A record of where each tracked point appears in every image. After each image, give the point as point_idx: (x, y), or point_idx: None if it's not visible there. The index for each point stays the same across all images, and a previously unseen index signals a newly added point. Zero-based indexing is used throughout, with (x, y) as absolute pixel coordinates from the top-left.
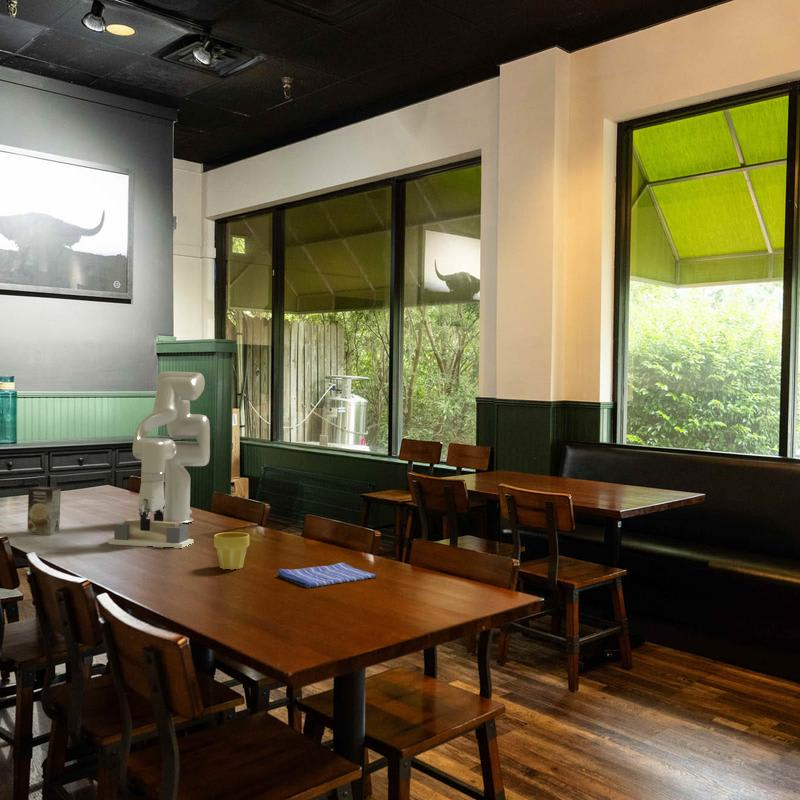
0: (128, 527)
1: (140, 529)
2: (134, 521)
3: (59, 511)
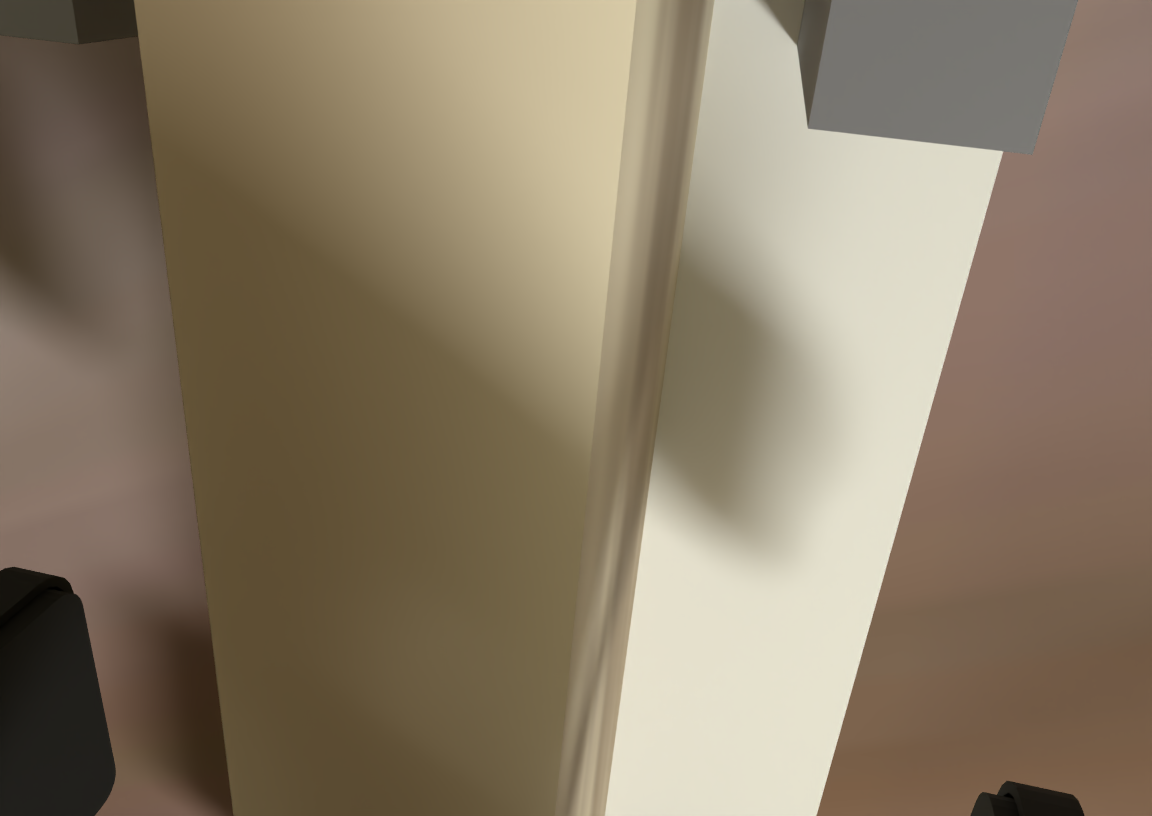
0: (128, 25)
1: (2, 576)
2: (175, 326)
3: None
